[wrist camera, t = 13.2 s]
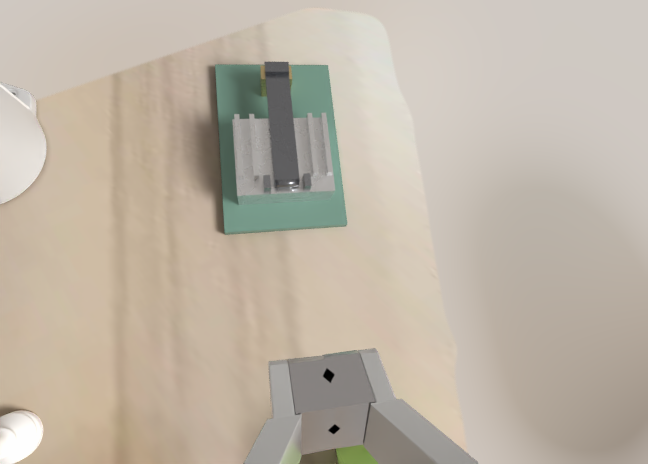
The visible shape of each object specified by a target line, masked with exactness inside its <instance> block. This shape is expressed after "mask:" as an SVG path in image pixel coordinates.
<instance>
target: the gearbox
mask: <svg viewBox="0 0 648 464" xmlns="http://www.w3.org/2000/svg"><path fill="white" fill-rule="evenodd" d="M336 453H337V459H338V464H378V462H377V461H376V460H375V459H374V458H373V457H372V456H371V454H370V453H369V452H368V451H367V450H366V449H365V447H364V445H357V446H350V447H343V448H336Z"/></svg>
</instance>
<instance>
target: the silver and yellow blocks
mask: <svg viewBox="0 0 648 464" xmlns="http://www.w3.org/2000/svg"><path fill="white" fill-rule="evenodd" d="M289 80H290V90H291V86H292V70H291V66H289ZM260 86H261V97H267V92H266V80H265V65H260ZM293 120H294V130H295V139H296V149H297V159H298V169H299V179H300V182H299V187H282V188H276V187H275V185H274V173H273V162H272V150H271V138H270V127H269V118H265V119H255V118H254V114H249V119H240V117H239V114H234V119H232V122H233V137H234V153H235V169H236V184H237V197H238V203H239V205H251V204H269V203H287V202H304V201H322V200H330V199H331V197H332V195H333V194H334V192H335V183H334V175H333V166H332V158H331V149H330V141H329V132H328V124H327V117H326V113H321V116H320V118H312V113H307V116H306V118H293Z"/></svg>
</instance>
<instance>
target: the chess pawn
mask: <svg viewBox="0 0 648 464" xmlns="http://www.w3.org/2000/svg"><path fill="white" fill-rule="evenodd" d="M42 436H43V425H42V422H41V420H40V419H39V417H38V416H37V415H36V414H34V413H32V412H30V411H25V410H19V411H14V412H11V413H9V414H6V415H3V416H1V417H0V464H14V463H16V462H18V461H20V460H22V459H23V458H25V457H27V456H28V455H30V454H31V453H32V452H34V450H35V449H36V448H37V447H38V445H39V444H40V442H41V440H42Z"/></svg>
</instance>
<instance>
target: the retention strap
mask: <svg viewBox="0 0 648 464" xmlns="http://www.w3.org/2000/svg"><path fill="white" fill-rule="evenodd" d="M265 80H266V92H267V104H268V115H269V127H270V138H271V150H272V162H273V173H274V185H275V187H276V188H282V187H299V182H300V179H299V169H298V159H297V149H296V139H295V130H294V120H293V110H292V100H291V90H290V80H289V64H288V62H265Z"/></svg>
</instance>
